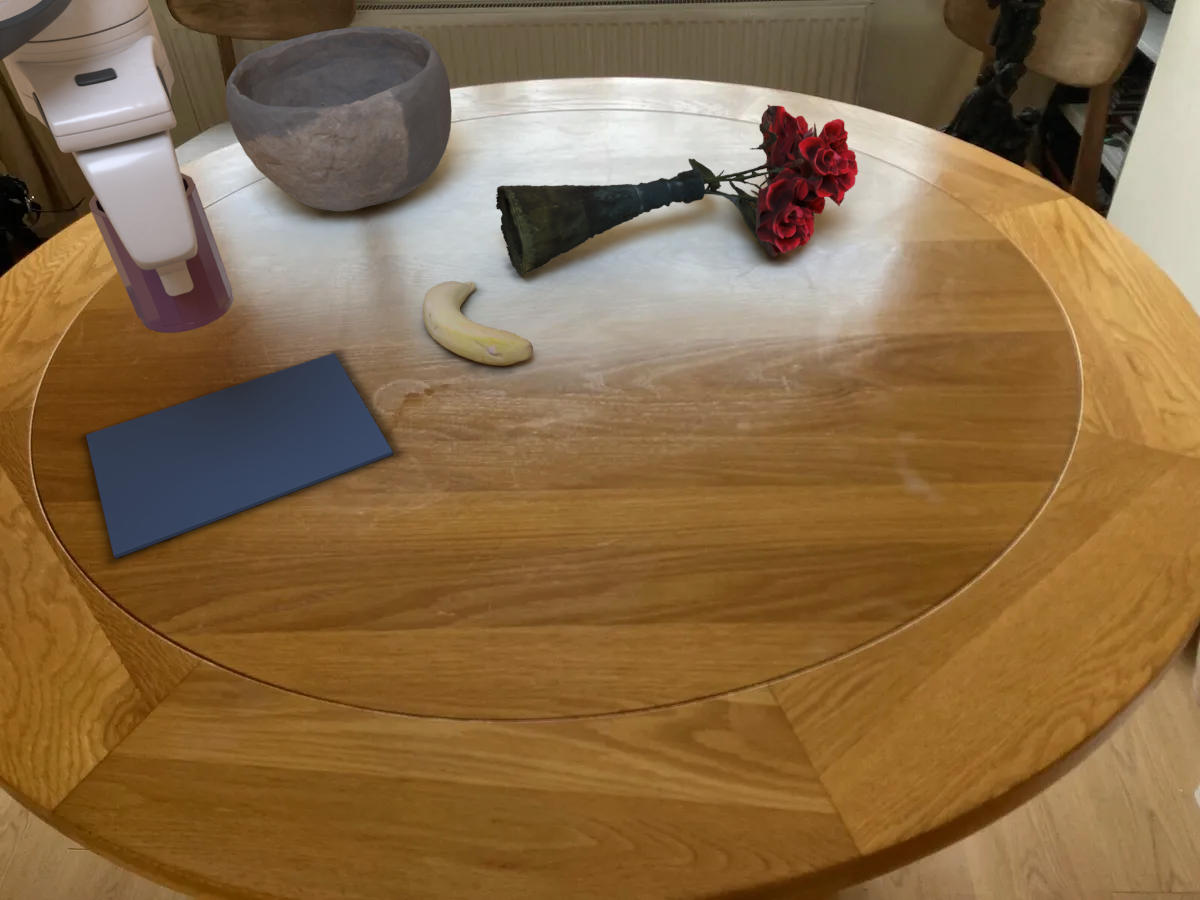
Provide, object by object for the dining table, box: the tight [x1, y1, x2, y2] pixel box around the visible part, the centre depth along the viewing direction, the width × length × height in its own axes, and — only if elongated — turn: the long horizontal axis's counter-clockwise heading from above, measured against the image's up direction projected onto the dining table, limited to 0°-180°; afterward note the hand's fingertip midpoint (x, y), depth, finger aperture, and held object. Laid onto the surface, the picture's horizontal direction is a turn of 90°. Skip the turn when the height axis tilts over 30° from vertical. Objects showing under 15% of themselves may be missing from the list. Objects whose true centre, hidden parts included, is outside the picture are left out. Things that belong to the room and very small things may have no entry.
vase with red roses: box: [495, 104, 859, 276], centre depth 97 cm, size 16×18×35 cm
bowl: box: [224, 26, 453, 212], centre depth 109 cm, size 24×24×15 cm
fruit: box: [422, 280, 534, 366], centre depth 90 cm, size 7×15×3 cm, turn 28°
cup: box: [88, 172, 235, 334], centre depth 67 cm, size 7×7×9 cm
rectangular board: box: [85, 352, 394, 559], centre depth 81 cm, size 22×16×1 cm
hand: (169, 262), depth 68 cm, fingers closed on cup, 7 cm apart
